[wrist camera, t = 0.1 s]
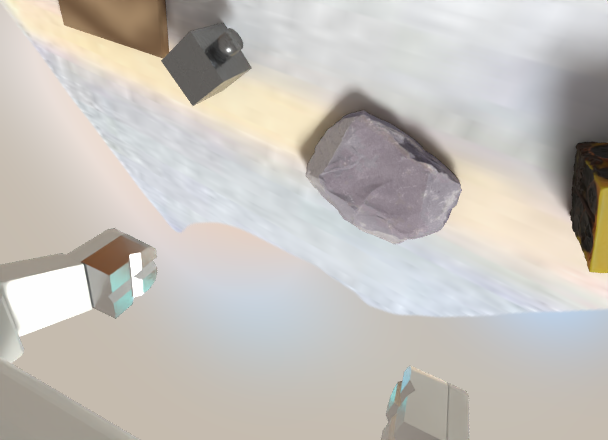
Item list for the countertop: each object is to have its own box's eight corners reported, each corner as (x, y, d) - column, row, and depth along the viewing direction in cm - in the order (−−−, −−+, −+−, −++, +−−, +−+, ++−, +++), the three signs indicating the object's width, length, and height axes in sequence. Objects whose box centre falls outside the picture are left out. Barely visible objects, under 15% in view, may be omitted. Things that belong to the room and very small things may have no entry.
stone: (302, 172, 55) (289, 188, 51) (353, 91, 45) (342, 104, 42) (406, 247, 56) (401, 268, 52) (480, 182, 46) (480, 203, 42)
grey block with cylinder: (194, 49, 50) (161, 60, 45) (238, 8, 45) (205, 15, 39) (222, 90, 52) (192, 106, 47) (267, 56, 47) (239, 68, 42)
